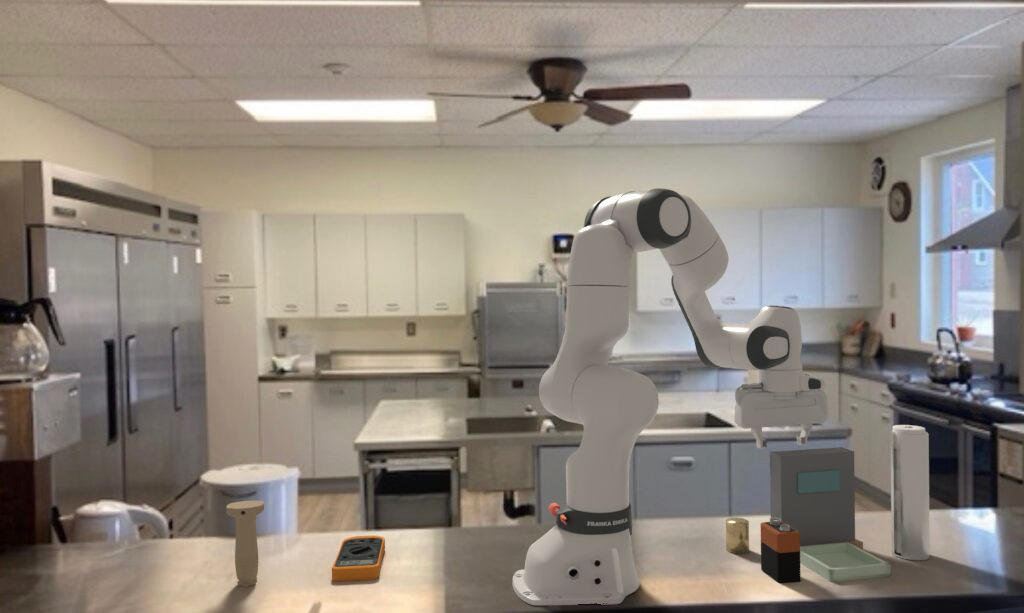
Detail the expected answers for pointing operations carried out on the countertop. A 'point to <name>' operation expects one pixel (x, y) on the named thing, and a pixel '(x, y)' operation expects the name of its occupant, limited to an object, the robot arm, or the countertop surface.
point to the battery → (780, 551)
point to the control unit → (815, 494)
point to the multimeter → (359, 559)
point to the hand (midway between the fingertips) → (781, 446)
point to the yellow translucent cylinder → (737, 535)
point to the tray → (843, 562)
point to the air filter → (910, 492)
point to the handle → (246, 540)
